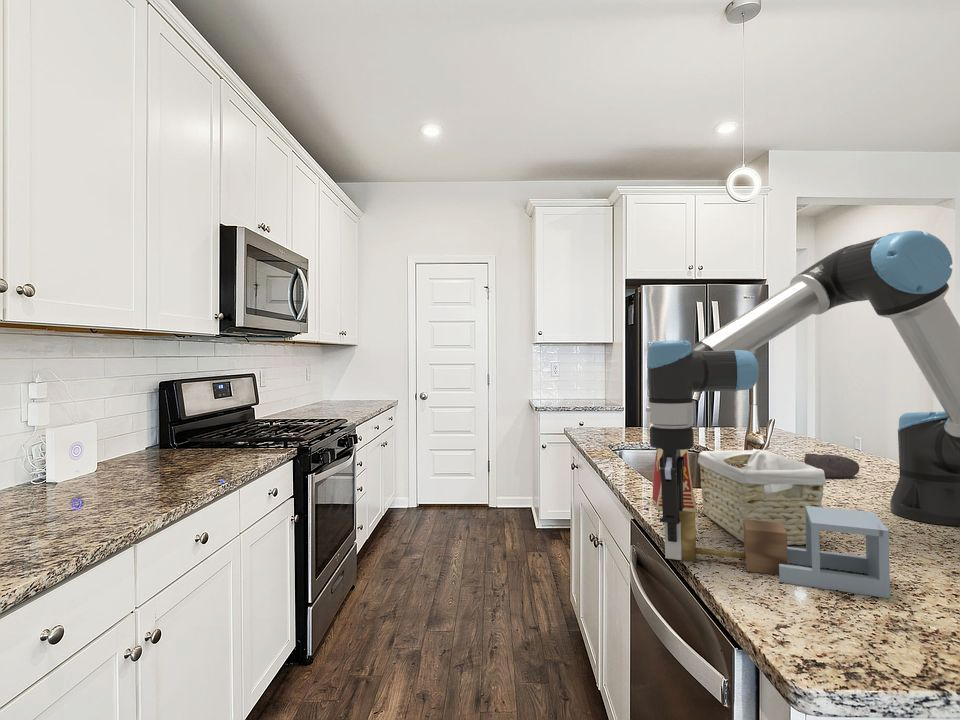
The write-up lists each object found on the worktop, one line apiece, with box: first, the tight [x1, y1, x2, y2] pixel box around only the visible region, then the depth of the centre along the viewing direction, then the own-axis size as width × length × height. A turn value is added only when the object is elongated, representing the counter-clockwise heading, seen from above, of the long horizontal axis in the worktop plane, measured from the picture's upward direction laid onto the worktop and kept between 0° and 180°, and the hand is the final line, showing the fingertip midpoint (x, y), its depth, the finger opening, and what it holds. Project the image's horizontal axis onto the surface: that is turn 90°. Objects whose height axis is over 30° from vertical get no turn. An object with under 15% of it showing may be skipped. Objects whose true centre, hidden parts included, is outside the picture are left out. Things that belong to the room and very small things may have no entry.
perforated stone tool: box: [803, 453, 860, 479], centre depth 155 cm, size 15×5×7 cm, turn 78°
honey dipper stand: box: [679, 511, 789, 576], centre depth 93 cm, size 17×6×8 cm, turn 68°
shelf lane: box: [778, 506, 891, 599], centre depth 86 cm, size 14×10×10 cm
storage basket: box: [697, 449, 827, 546], centre depth 111 cm, size 24×16×15 cm
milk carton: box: [651, 448, 699, 513], centre depth 129 cm, size 9×9×20 cm
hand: (674, 554), depth 96 cm, fingers closed on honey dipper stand, 3 cm apart
